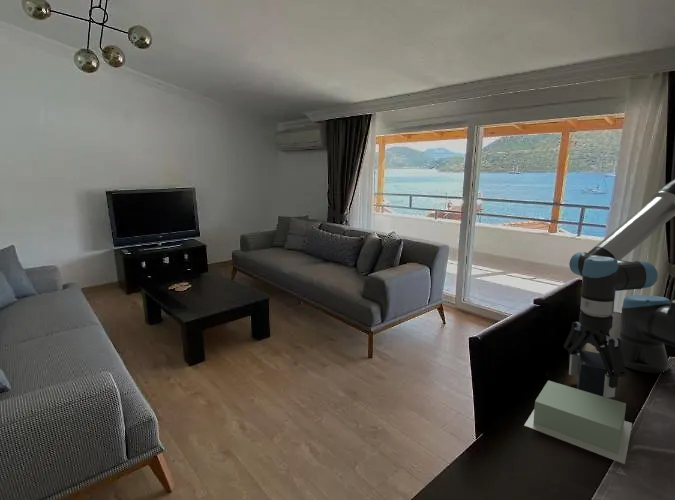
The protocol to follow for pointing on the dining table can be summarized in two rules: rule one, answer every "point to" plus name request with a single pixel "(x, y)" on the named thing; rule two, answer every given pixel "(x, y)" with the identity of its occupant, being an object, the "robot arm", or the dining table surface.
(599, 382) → the small box
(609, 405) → the base brick
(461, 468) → the dining table surface
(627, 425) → the baseplate
